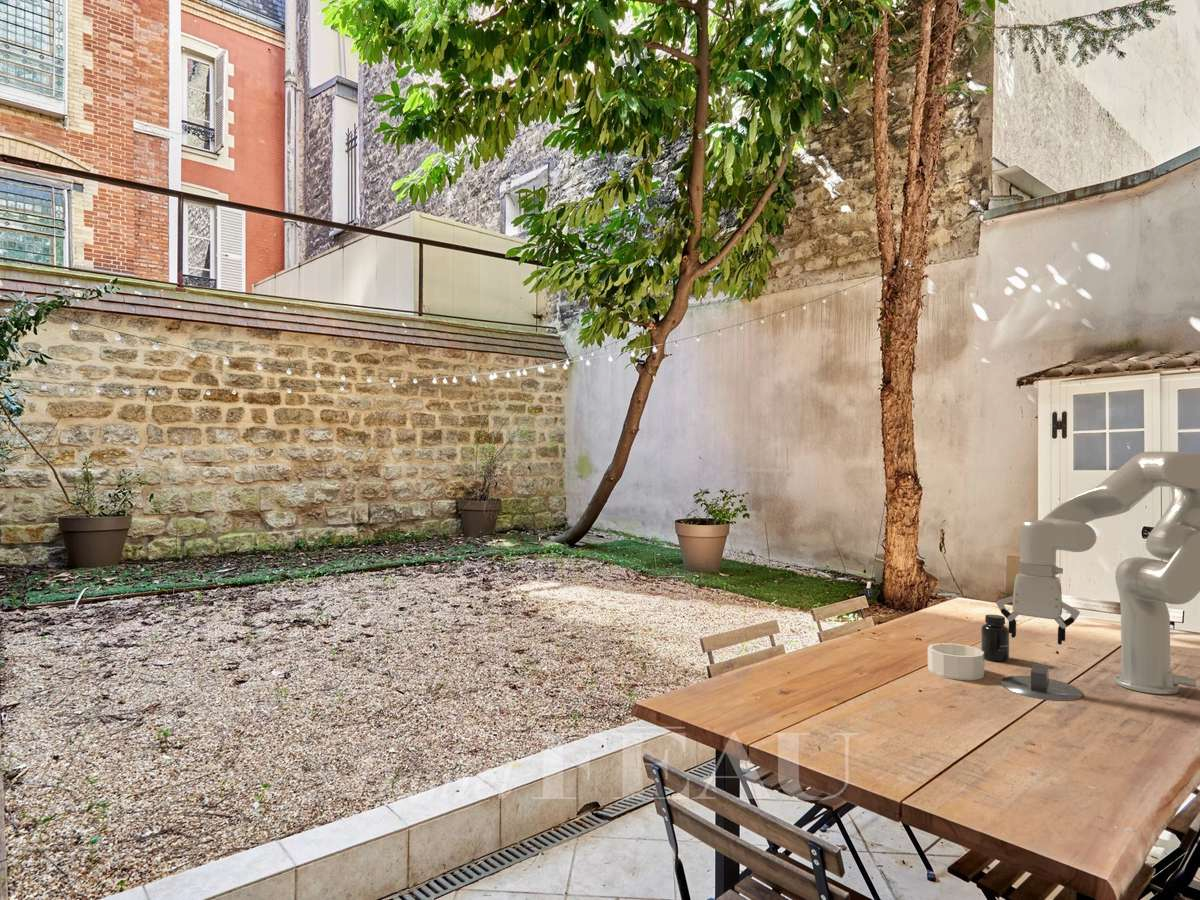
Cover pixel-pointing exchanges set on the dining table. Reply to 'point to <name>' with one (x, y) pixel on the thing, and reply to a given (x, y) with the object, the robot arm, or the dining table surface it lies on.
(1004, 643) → the supplement bottle
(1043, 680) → the lid
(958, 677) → the bowl
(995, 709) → the dining table surface
